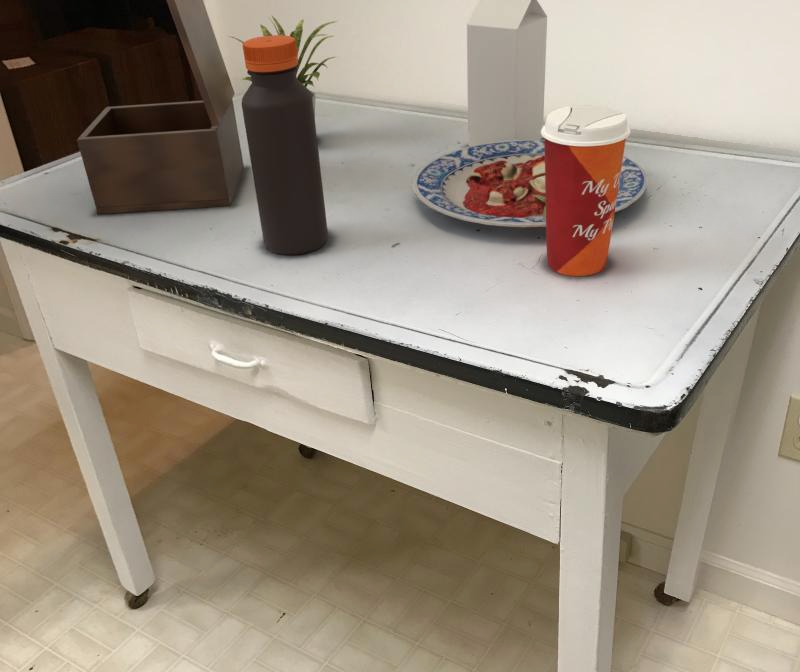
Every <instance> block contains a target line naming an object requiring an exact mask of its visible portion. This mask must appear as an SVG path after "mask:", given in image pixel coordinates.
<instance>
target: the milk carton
mask: <svg viewBox="0 0 800 672" xmlns="http://www.w3.org/2000/svg"><path fill="white" fill-rule="evenodd" d="M547 32H548V15H547V14H546V12H545V11H544V9H543V7H542V6H541V4H540V2H539V1H538V0H477V2H476V3H475V5H474V8H473V10H472V11H471V14H470V16H469V18H468V20H467V22H466V64H467V65H466V67H467V68H466V70H467V71H466V73H467V74H466V75H467V78H466V79H467V145H468V147H470V146H475V145H479V144H485V143H492V142H499V141H511V140H543V138H544V137H543V136H542V135H541V129H542V127H543V126H544V116H545V115H544V114H545V89H546V88H545V87H546V84H545V83H546V65H547V64H546V61H547V36H548V33H547Z"/></svg>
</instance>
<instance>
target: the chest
mask: <svg viewBox="0 0 800 672" xmlns="http://www.w3.org/2000/svg"><path fill="white" fill-rule="evenodd" d="M234 105H235V104H234V100H233V98H232V100H231V102H230V104H229V106H228V108H227V110H226V112H225V114H224V116H223V118H222V120H221V122H220V124H219V125H218V126H214V127H213V126H212V124H211V121H210V119H209V116H208V113H207V110H206V108H205V105H204V102H203V100H192V101H178V102H177V101H175V102H161V103H147V104H145V103H144V104H132V105H117V106H116V105H115V106H106V107H105V108H104V109H103V110H102V111H101V113H100V114H98V115H97V116H96V118H95V119H94V120H93V121H92V122H91V124H90V125H88V127H87V128H86V129H85V130H83V132H82V133H81V134H80V136H78V138H77V139H76V141H77V145H78V149H79V152H80V155H81V159H82V160H81V161H82V164H83V166H84V171H85V174H86V177H87V181H88V185H89V188H90V192H91V195H92V199H93V203H94V206H95V211H96V214H97V215H106V214H107V215H108V214H122V213H123V214H124V213H137V212H140V213H141V212H152V211H153V212H155V211H169V210H170V211H171V210H183V209H185V210H186V209H202V208H214V207H216V208H217V207H230V206H231V204H232V202H233V199H234V196H235V194H236V191H237V188H238V186H239V183H240V181H241V177H242V175H243V172H244V169H245V165H244V160H243V153H242V148H241V141H240V136H239V135H240V134H239V130H238V123H237V118H236V112H235V107H234Z"/></svg>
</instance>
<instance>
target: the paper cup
mask: <svg viewBox="0 0 800 672" xmlns="http://www.w3.org/2000/svg"><path fill="white" fill-rule="evenodd" d="M541 135H542V136H543V138H544V139H543V140H544V141H545V198H546V227H545V239H546V240H545V241H546V242H545V243H546V259H547V266H548V268H550V270H552V271H553V272H556V273H558V274H560V275H565V276H569V277H586V276H592V275H595V274H598V273H600V272H601V271H603V270H604V269H605V268H606V265H607V262H608V258H609V251H610V245H611V239H612V234H613V233H612V232H613V226H614V218H615V213H616V212H615V207H616V201H617V194H618V187H619V181H620V174H621V167H622V161H623V156H624V153H625V147H626V140H627V138H628V137H629V136H630V135H631V129H630V126H629V125H628V120H627V116H626V114H625V113H624V112H622V111H621V110H618V109H616V108H613V107H609V106H603V105H589V104H587V105H572V106H566V107H565V106H564V107H561V108H558V109H554V110H552V111H551V112H549V113H548V114H547V116H546V119H545V123H544V124H543V127H542V129H541Z"/></svg>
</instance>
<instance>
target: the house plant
mask: <svg viewBox="0 0 800 672" xmlns="http://www.w3.org/2000/svg"><path fill="white" fill-rule="evenodd" d="M267 17H268V16H267ZM271 17H272V19H271V18H270V17H268V19H269V20H270V21H271V23H272V24H273V27H274V29H275V32H276V33H277V35H284V36H287V35H286V33H285V30H284V29H283V27H282V25H281V24H280V23H279V21H278V19H276V17H274V15H271ZM337 22H338V20H336V21H329V22H325V23H323V24H321V25H319V26H318V27H316V28H315V29H314V30H313V31H311V33H310V34H309V36H308V37H307V39H306V41H305V43H304V45H303V48H302V49H301V51H300V53H299V50H300V48H301V47H300V46H301V41H302V36H303V33H304V32H303V31H304V29H303V24H304V19H301V20H300V21H299V22H298V24H297V25H296V27H295V29H294V30H293V31H291V32H290V34H289V36H291V37H293V38H295V39H296V46H297V56H298V70H297V71H296V76H297V79H298V80H299V81H300V82H301V83H302V84H303V85H304V86H305V87H306V88H308V85H310V86H312V87H313V88H315V85H314V82H313V80H312V78H313V77H314V78H316V80H317V81H319V77H320V75H321V73H320V72H319V71H318V70H319V69H320V68H321V67H322V66H324V67H325V68H328V66H327V65H326V64H325V63H326V62H327V61H328V60H331V59H335V58H337V57H338V56H331V57H327V58H325V59H324V60H322V61H320V62H310V60H311V59H312V56H313V55H314V54H315V51H316V50H317V49H318V47H319V46H320V45H321V43H323V42H324V41H325V40H326V39H330V38H332V37H334V35H326V34H323V33H319V32H321V30H322V29H323V28H324V27H326V26H328V25H331V24H334V23H337ZM260 29H261V32H262V35H263V36H272V35H273V34H272V33H271V32H270V31H269V29H268V28H267V27H266V26H264V25H262V24H260ZM318 33H319V34H318ZM323 36H325V37H323ZM227 37H229V38H232V39H235V40H237V41H238V42H239V43H241V44H243V43H244V42H245V41H243V40H241V39H239V38H237V37H234V36H228V35H227ZM316 37H322V38H321V39H319V40H318V42H316V44H314V46H313V48H312V49H311V51H310V53H309V56H308V58H307V60H306V63H305V64H304V66H303V67H302V69H301V70H300V72H299V69H300V66H301V63H302V61H303V58H304V55H305V54H306V51H307V50H308V47H309V45H310V44H311V43H312V40H313V39H314V38H316ZM299 54H300V55H299ZM309 62H310V63H309ZM314 66H315V68H314V69H313V71H312V72H311V73H309V74H308V73H307V72H308V71H309V69H311V68H312V67H314ZM298 72H299V73H298ZM306 73H307V74H306ZM297 74H298V75H297ZM307 78H308V79H307ZM242 80H243V81H244V80H245V81H249V82H252V81H251V76H246V77H244V78H242ZM310 92H311V93H312V99H313V108H314V117H315V118H316V98H317V95H316V93H315V92H314V91H312V90H310Z"/></svg>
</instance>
